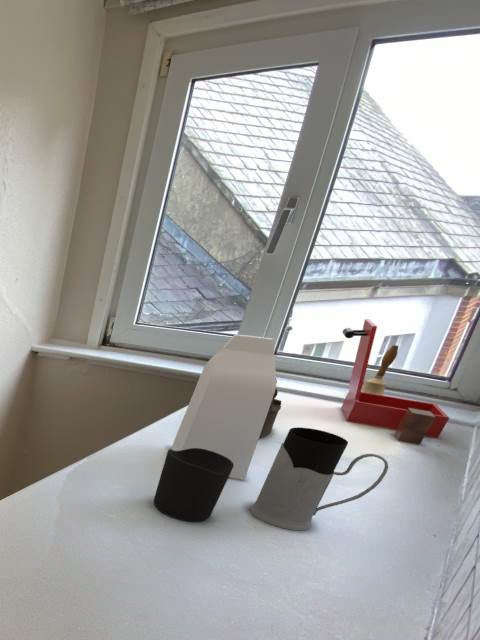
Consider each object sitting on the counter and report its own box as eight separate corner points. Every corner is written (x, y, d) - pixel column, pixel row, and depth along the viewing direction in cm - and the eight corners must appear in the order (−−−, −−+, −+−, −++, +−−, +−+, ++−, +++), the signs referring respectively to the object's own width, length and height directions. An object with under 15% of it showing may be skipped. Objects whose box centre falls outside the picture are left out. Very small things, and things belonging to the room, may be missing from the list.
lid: (369, 319, 143) (343, 319, 146) (377, 326, 133) (349, 326, 136) (352, 388, 150) (327, 387, 153) (358, 400, 140) (332, 399, 143)
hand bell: (386, 399, 163) (414, 346, 156) (385, 405, 157) (414, 350, 150) (350, 392, 168) (376, 340, 161) (348, 398, 162) (374, 344, 155)
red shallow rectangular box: (425, 423, 144) (436, 404, 142) (437, 438, 134) (449, 417, 132) (340, 408, 153) (349, 389, 150) (346, 421, 143) (355, 401, 140)
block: (415, 438, 133) (430, 411, 130) (419, 444, 129) (435, 416, 126) (393, 434, 135) (408, 407, 132) (397, 440, 131) (412, 412, 128)
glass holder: (247, 499, 99) (281, 422, 92) (345, 522, 93) (389, 441, 86) (251, 520, 92) (288, 438, 86) (358, 546, 86) (407, 460, 80)
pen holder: (213, 530, 89) (236, 475, 84) (149, 513, 93) (167, 460, 88) (210, 506, 96) (231, 454, 92) (151, 492, 100) (168, 441, 96)
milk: (175, 466, 111) (220, 337, 99) (171, 447, 120) (212, 327, 109) (244, 480, 107) (300, 347, 95) (234, 459, 116) (285, 335, 104)
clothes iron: (225, 436, 128) (246, 380, 122) (234, 419, 140) (254, 368, 133) (265, 445, 124) (290, 388, 118) (272, 427, 135) (294, 374, 129)
